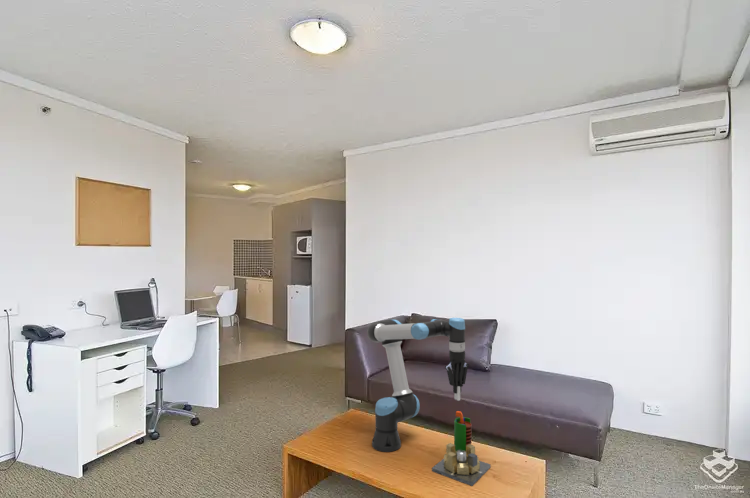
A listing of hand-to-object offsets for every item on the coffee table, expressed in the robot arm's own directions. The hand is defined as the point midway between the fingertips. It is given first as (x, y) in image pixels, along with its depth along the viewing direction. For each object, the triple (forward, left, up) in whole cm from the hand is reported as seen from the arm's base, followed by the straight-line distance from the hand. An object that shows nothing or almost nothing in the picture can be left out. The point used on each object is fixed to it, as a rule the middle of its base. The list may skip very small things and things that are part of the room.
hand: (457, 399), depth 198 cm
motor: (-3, +12, -31) cm, 33 cm away
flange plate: (+4, -4, -30) cm, 31 cm away
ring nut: (+4, -4, -29) cm, 29 cm away
